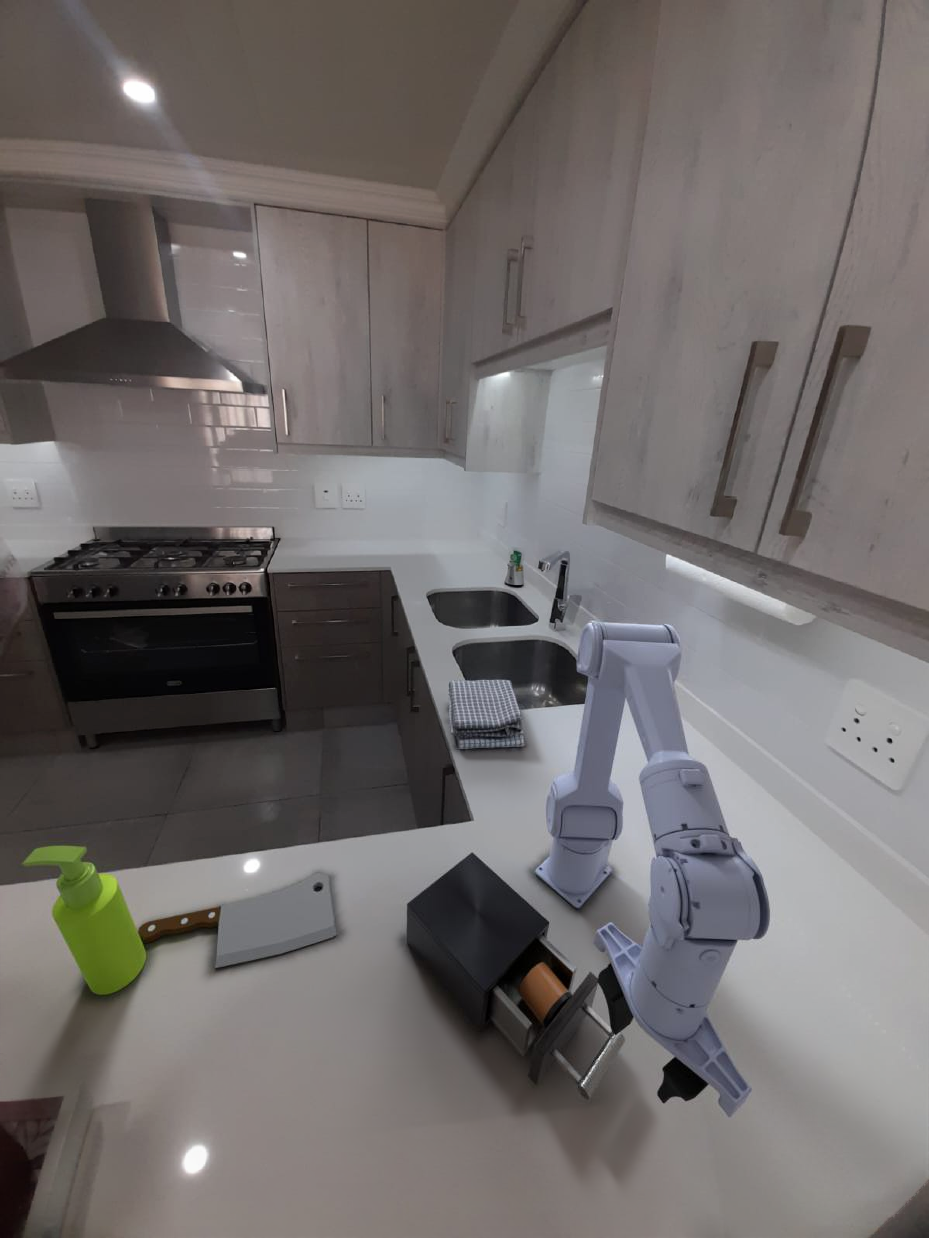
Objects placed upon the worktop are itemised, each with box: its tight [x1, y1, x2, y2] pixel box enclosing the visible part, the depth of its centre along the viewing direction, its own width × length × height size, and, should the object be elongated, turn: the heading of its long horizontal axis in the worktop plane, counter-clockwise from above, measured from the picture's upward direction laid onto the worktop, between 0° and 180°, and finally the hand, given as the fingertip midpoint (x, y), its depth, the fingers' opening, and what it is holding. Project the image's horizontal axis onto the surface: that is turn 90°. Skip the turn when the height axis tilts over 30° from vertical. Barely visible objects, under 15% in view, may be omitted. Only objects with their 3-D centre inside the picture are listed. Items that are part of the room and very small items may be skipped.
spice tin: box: [518, 962, 573, 1031], centre depth 55 cm, size 4×4×4 cm
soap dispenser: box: [21, 845, 147, 996], centre depth 55 cm, size 6×7×20 cm
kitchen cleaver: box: [137, 871, 338, 969], centre depth 64 cm, size 24×1×10 cm
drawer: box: [486, 934, 626, 1101], centre depth 55 cm, size 17×10×6 cm, turn 44°
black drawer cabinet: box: [406, 851, 550, 1033], centre depth 62 cm, size 14×12×8 cm
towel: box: [448, 679, 526, 750], centre depth 106 cm, size 15×18×8 cm
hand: (642, 1057), depth 45 cm, fingers open, 5 cm apart
